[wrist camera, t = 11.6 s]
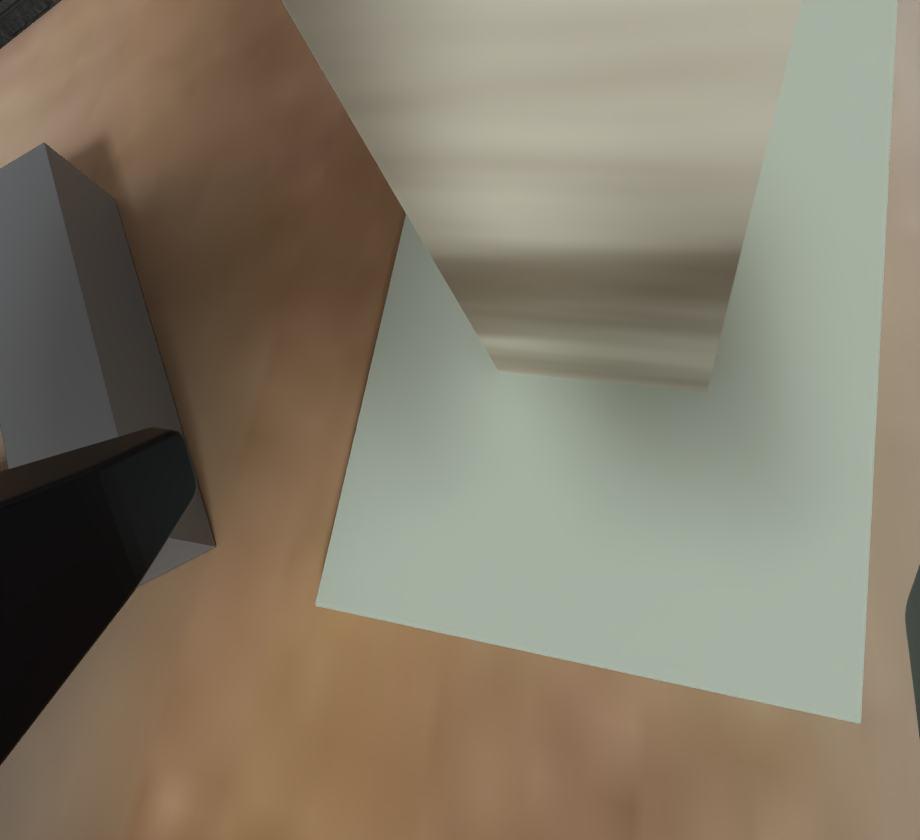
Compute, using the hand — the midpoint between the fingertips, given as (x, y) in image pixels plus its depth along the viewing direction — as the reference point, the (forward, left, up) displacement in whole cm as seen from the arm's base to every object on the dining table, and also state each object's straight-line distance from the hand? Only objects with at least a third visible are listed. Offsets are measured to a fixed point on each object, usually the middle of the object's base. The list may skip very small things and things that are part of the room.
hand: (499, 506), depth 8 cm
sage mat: (+3, -6, -9) cm, 11 cm away
